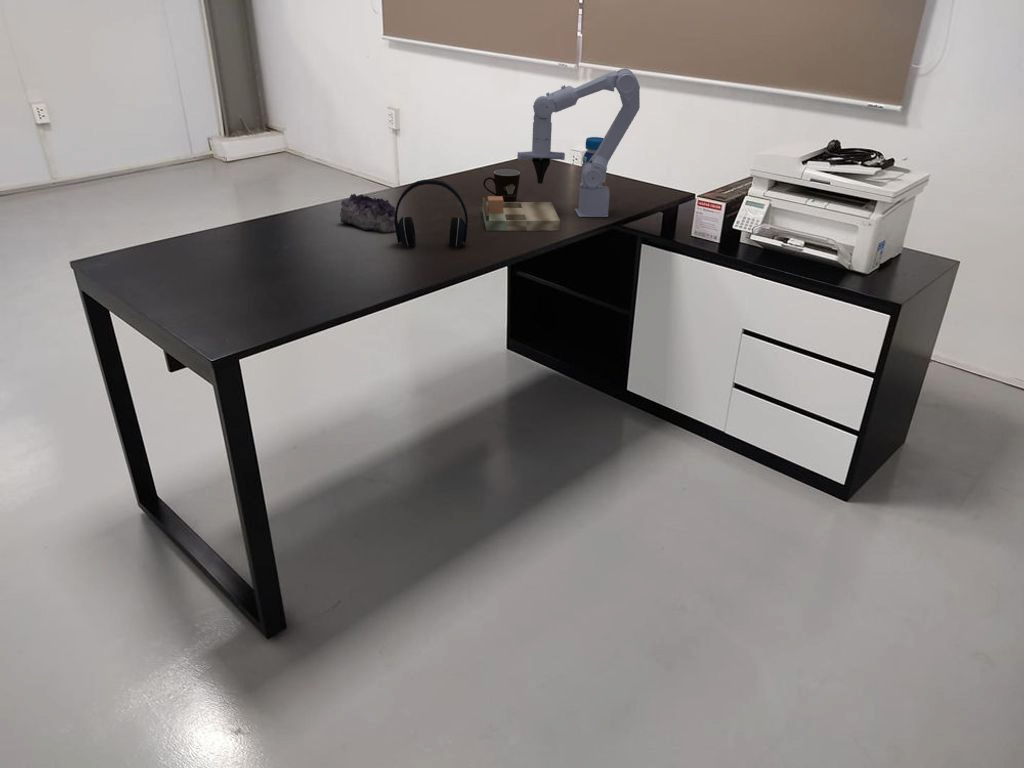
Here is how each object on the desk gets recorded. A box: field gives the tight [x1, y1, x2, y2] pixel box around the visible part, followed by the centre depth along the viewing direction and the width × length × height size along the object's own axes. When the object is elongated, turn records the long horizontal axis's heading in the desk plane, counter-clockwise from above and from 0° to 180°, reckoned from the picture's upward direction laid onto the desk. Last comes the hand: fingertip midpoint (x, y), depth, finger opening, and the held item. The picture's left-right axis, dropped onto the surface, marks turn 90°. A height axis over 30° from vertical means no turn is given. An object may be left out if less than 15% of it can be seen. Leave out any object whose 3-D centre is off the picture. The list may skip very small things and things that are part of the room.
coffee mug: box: [482, 168, 521, 202], centre depth 253 cm, size 12×9×10 cm
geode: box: [339, 193, 396, 235], centre depth 228 cm, size 20×12×10 cm, turn 55°
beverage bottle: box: [580, 136, 608, 186], centre depth 257 cm, size 8×8×20 cm
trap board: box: [482, 197, 561, 232], centre depth 237 cm, size 22×20×4 cm
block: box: [487, 195, 503, 213], centre depth 235 cm, size 4×4×4 cm
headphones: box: [395, 178, 469, 248], centre depth 211 cm, size 20×7×18 cm, turn 93°
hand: (539, 182), depth 242 cm, fingers closed
